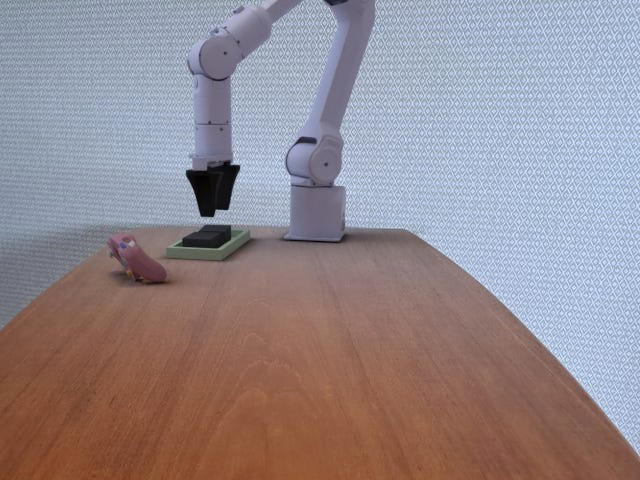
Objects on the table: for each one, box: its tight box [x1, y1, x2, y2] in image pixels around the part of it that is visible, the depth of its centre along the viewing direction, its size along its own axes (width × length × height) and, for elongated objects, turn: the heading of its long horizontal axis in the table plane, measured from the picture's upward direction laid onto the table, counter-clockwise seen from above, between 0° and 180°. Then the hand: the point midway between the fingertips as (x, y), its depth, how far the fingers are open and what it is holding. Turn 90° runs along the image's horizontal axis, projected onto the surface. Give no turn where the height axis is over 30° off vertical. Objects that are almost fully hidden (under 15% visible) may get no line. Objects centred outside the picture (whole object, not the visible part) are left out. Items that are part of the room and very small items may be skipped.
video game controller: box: [106, 232, 167, 283], centre depth 89 cm, size 10×5×7 cm, turn 25°
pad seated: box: [181, 231, 222, 249], centre depth 104 cm, size 6×4×2 cm
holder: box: [165, 228, 251, 262], centre depth 108 cm, size 18×9×2 cm, turn 166°
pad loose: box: [198, 224, 232, 246], centre depth 110 cm, size 6×4×2 cm
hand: (215, 213), depth 109 cm, fingers open, 7 cm apart
